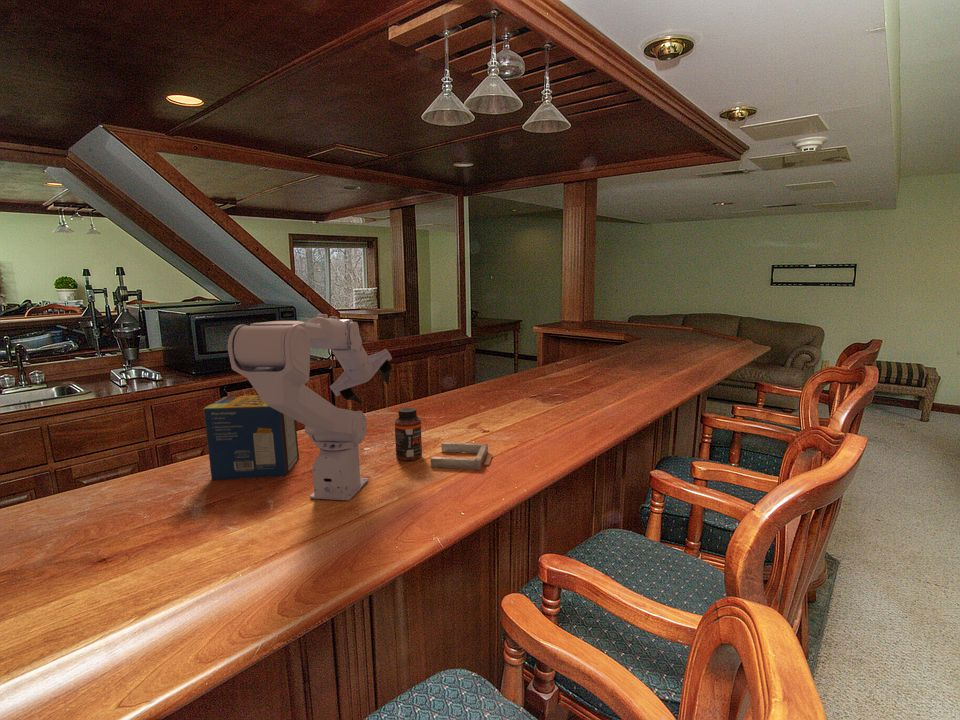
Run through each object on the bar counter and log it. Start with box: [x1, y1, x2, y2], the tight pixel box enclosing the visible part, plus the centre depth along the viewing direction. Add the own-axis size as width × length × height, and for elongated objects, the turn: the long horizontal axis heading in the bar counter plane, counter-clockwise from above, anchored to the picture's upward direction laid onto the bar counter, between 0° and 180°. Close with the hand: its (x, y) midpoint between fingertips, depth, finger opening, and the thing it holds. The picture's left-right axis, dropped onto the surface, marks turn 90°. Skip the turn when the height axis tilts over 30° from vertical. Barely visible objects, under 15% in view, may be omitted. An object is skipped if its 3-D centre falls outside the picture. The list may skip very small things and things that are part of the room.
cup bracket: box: [430, 441, 494, 471], centre depth 111 cm, size 11×12×2 cm
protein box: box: [202, 394, 300, 481], centre depth 107 cm, size 10×15×16 cm
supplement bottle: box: [394, 407, 423, 462], centre depth 113 cm, size 6×6×11 cm
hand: (372, 390), depth 115 cm, fingers open, 7 cm apart
